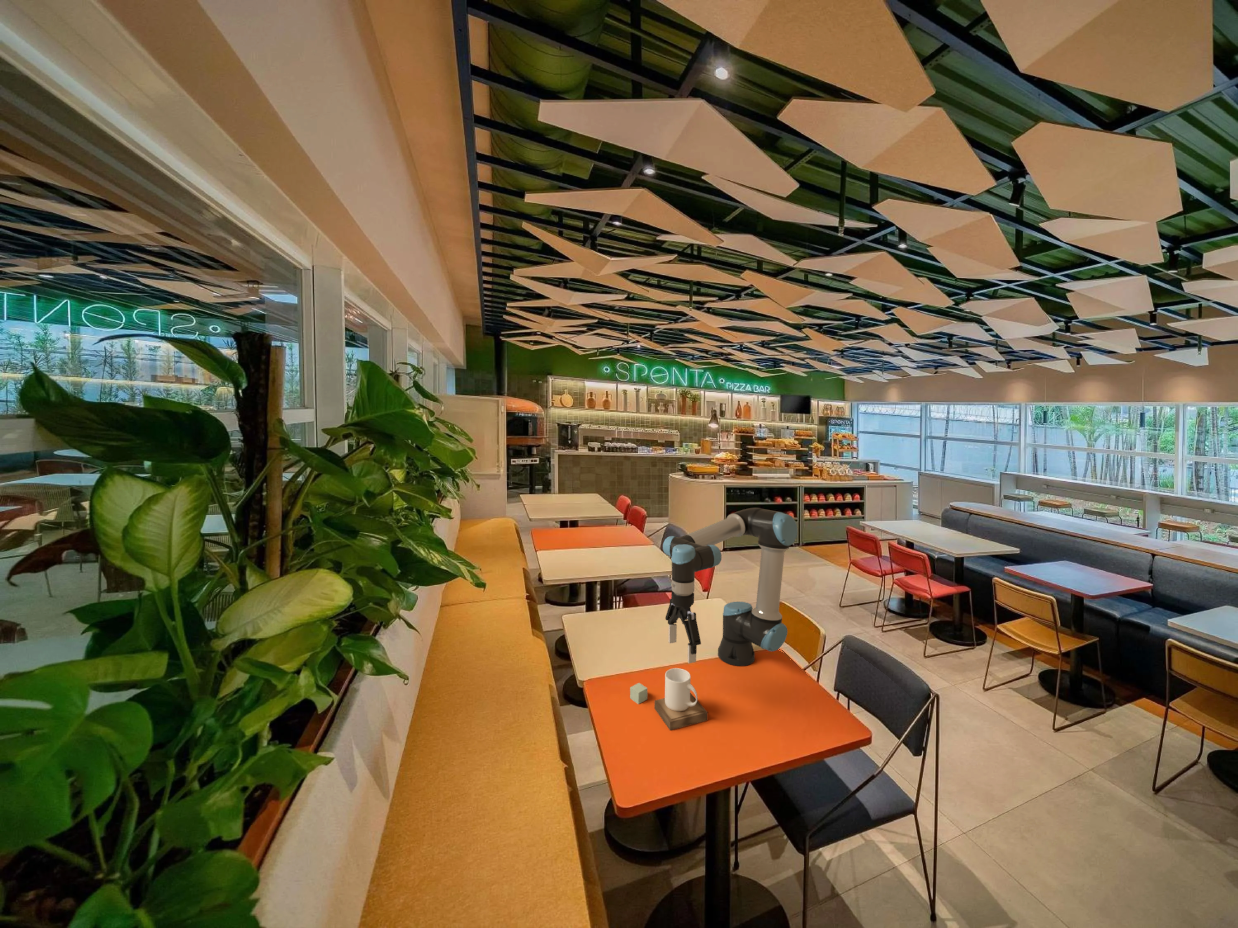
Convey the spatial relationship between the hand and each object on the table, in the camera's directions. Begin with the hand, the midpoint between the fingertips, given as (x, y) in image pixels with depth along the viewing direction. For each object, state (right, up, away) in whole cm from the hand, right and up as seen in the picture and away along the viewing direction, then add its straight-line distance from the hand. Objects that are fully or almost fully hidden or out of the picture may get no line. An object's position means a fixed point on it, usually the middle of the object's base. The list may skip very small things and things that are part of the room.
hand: (681, 651), depth 158 cm
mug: (0, -19, +2) cm, 20 cm away
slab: (0, -22, +2) cm, 23 cm away
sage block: (-14, -22, +11) cm, 28 cm away
